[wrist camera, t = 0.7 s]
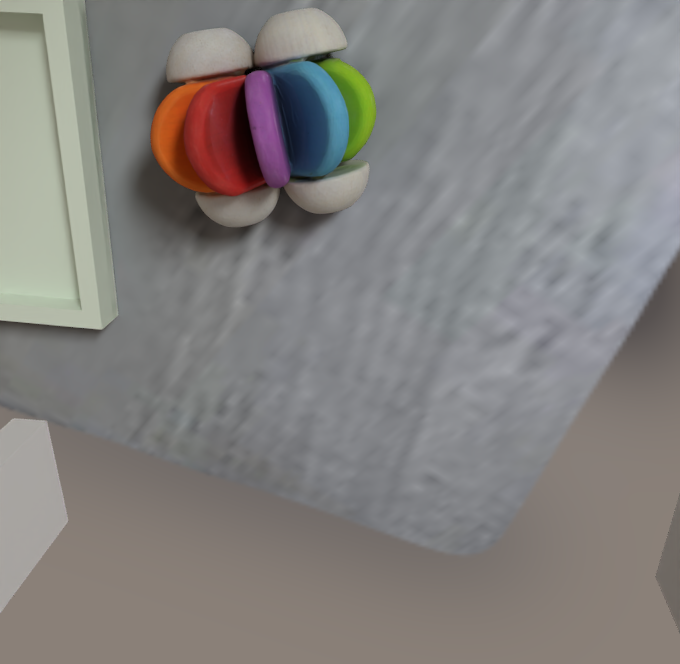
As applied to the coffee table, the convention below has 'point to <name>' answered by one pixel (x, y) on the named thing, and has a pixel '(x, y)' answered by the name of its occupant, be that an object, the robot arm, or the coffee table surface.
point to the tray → (51, 171)
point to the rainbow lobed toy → (265, 119)
